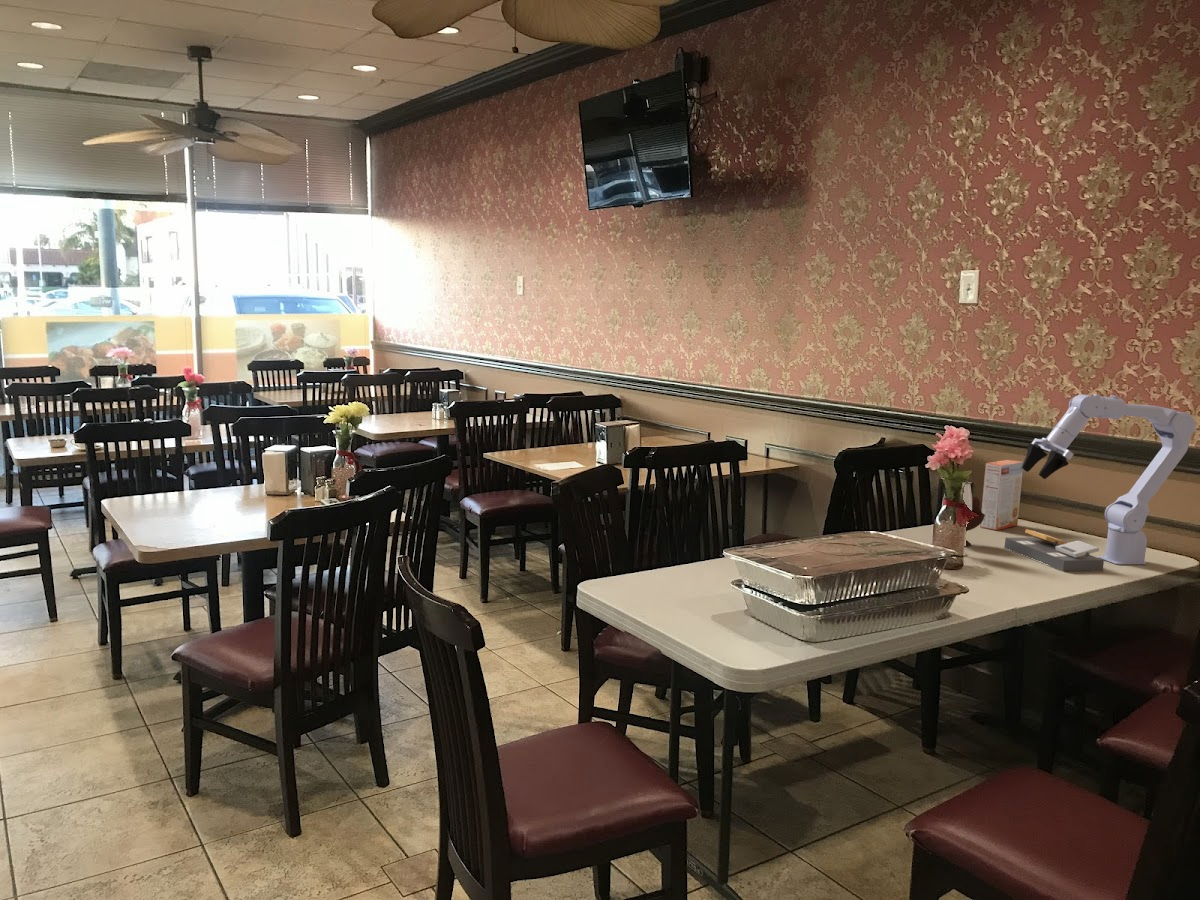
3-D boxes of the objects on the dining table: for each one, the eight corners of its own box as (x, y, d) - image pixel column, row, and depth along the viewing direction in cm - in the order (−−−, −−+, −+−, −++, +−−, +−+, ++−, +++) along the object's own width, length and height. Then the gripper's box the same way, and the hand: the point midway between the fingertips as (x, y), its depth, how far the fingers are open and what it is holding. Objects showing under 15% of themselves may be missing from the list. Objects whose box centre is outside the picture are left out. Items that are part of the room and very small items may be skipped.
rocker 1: (1044, 539, 274) (1046, 534, 274) (1065, 547, 265) (1067, 542, 265) (1024, 534, 272) (1026, 528, 272) (1044, 541, 263) (1046, 536, 263)
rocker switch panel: (1053, 547, 277) (1054, 536, 277) (1115, 570, 253) (1117, 559, 252) (1004, 547, 274) (1005, 536, 273) (1062, 571, 250) (1064, 559, 249)
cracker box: (1000, 522, 309) (1006, 458, 306) (1018, 526, 305) (1025, 461, 302) (978, 527, 300) (984, 461, 297) (996, 531, 296) (1003, 464, 293)
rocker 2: (1078, 545, 260) (1077, 540, 260) (1099, 553, 253) (1098, 547, 252) (1055, 552, 259) (1055, 546, 259) (1075, 559, 252) (1075, 553, 251)
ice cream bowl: (974, 540, 281) (979, 490, 279) (985, 550, 270) (991, 498, 268) (937, 538, 282) (942, 488, 280) (947, 547, 271) (952, 495, 269)
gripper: (1038, 419, 263) (1007, 458, 265) (1072, 430, 249) (1039, 472, 251) (1054, 433, 265) (1024, 472, 267) (1089, 445, 251) (1057, 486, 253)
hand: (1032, 473), depth 259 cm, fingers open, 7 cm apart
